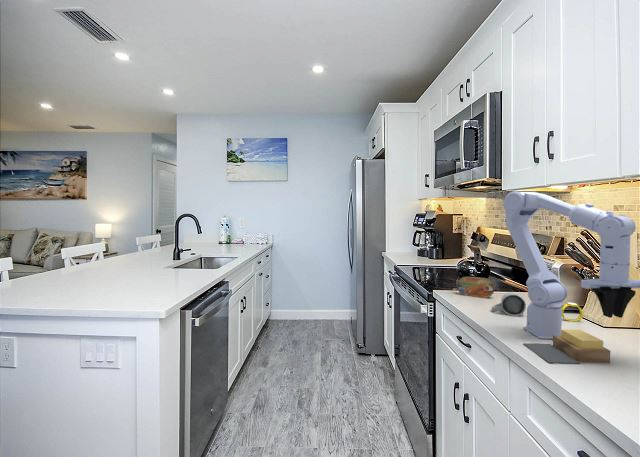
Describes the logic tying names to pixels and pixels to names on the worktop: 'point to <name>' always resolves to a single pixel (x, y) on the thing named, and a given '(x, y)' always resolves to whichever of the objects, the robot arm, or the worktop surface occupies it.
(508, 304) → the ceramic mug
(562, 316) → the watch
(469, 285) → the tin
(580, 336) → the yellow sponge
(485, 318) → the worktop surface
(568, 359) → the mat
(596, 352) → the block
